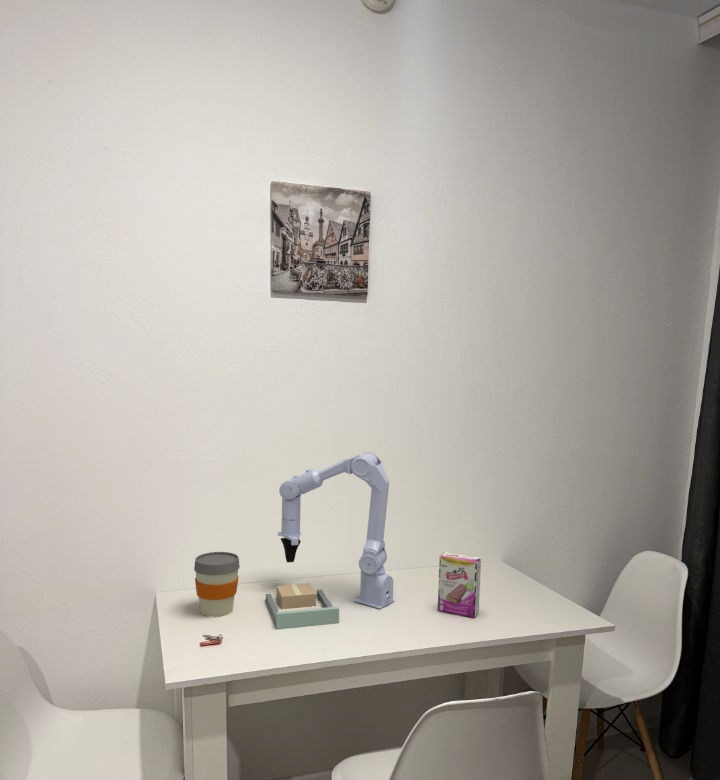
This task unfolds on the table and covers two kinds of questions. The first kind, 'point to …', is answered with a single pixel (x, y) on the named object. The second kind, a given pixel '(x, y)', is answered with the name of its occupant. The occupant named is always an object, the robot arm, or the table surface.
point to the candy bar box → (459, 584)
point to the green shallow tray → (304, 614)
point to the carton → (296, 596)
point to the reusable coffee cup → (216, 582)
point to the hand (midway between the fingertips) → (290, 561)
